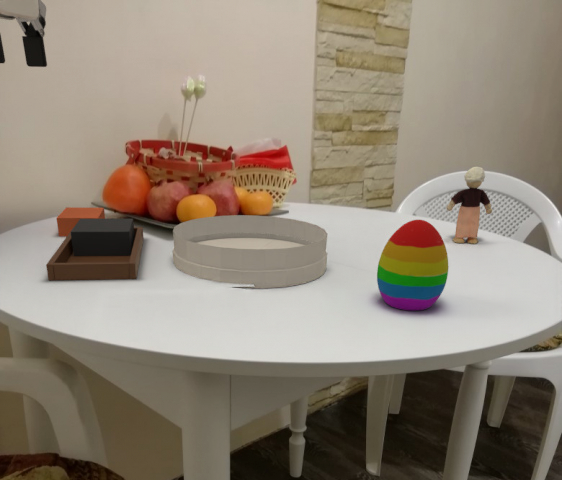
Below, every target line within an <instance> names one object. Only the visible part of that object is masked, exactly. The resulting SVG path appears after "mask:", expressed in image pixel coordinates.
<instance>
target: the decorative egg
mask: <svg viewBox="0 0 562 480" xmlns="http://www.w3.org/2000/svg"><path fill="white" fill-rule="evenodd" d="M377 264H378V265H377V269H376V271H377V272H376V283H377V288H378V291H379V293H380V296H381V298H382V299H383V301H384V303H386V304H387V305H388V306H390V307H392V308H395V309H398V310H402V311H411V312H412V311H415V312H416V311H424V310H426V309H429V308H431V307H432V306H433V305H434V304H435V303H436V302H437V301H438V300H439V298H440V297H441V295H442V293H443V292H444V289H445V287H446V284H447V280H448V275H449V257H448V251H447V247H446V244H445V241H444V240H443V237H442V236H441V233H440V232H439V231H438V230H437V228H436V227H435V226H434V225H433V224H431V223H430V222H428V221H427V220H425V219H413V220H409V221H408V222H406V223H404V224H402V225H401V226H400V227H399V228H398V229H397V230H395V232H393V234H392V235H391V236H390V237H389V239H388V240H387V242H386V243H385V245H384V246H383V249H382V251H381V254H380V256H379V259H378V263H377Z"/></svg>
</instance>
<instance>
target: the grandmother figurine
mask: <svg viewBox="0 0 562 480" xmlns="http://www.w3.org/2000/svg"><path fill="white" fill-rule="evenodd" d="M485 178H486V174H485V170H484V168H483V167H480V166H473V167H471V168H469V169H468V170H467V172H465V174H464V181H465V184H466V186H467V188H465V189H461V190H459V191H457V192H456V193H455V194H454V195H453V196H452V197H451V198H450V201H449V203H448V205H446V210H447V211H448V212H451V211H452V210H453V208H454V207H455V206H456V205H458V204H460V206H459V209H458V214H457V218H456V219H457V220H456V224H455V232H454V233H455V234H454V237H453V238H452V242H453V243H456V244H465V242H466V243H467V244H471V245H477V244H478V242H479V240H478V234H479V227H480V217H481V204H482V205H483V206H484V209H485V213H486V214H487V215H490V214H492V213H493V209H492V204H491V200H490V198H489V196H488V194H487V193H486V191H484V190H483V189H480V188H479V187H481V185H482V183H483V182H485ZM465 239H466V241H465Z"/></svg>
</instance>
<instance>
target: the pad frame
mask: <svg viewBox="0 0 562 480" xmlns="http://www.w3.org/2000/svg"><path fill="white" fill-rule="evenodd" d="M73 228H74V227H73ZM71 231H72V230H71ZM134 234H135V240H134V244H133V248H132V252H131V256H74V253H73V246H72V239H71V232H70V233H69V234H68V236H65V238H64V239H63V241H62V242H61V244H60V245H59V247H58V248H56V251H55V252H54V254H53V255H52V256H51V258H50V259H49V260H48V262H47V263H46V265H45V266H46V273H47V278H48V281H49V282H59V281H64V282H65V281H114V280H115V281H118V280H119V281H120V280H137V277H138V272H139V266H140V261H141V257H142V256H141V255H142V251H143V245H144V240H145V237H144V227H143V226H134Z"/></svg>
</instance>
